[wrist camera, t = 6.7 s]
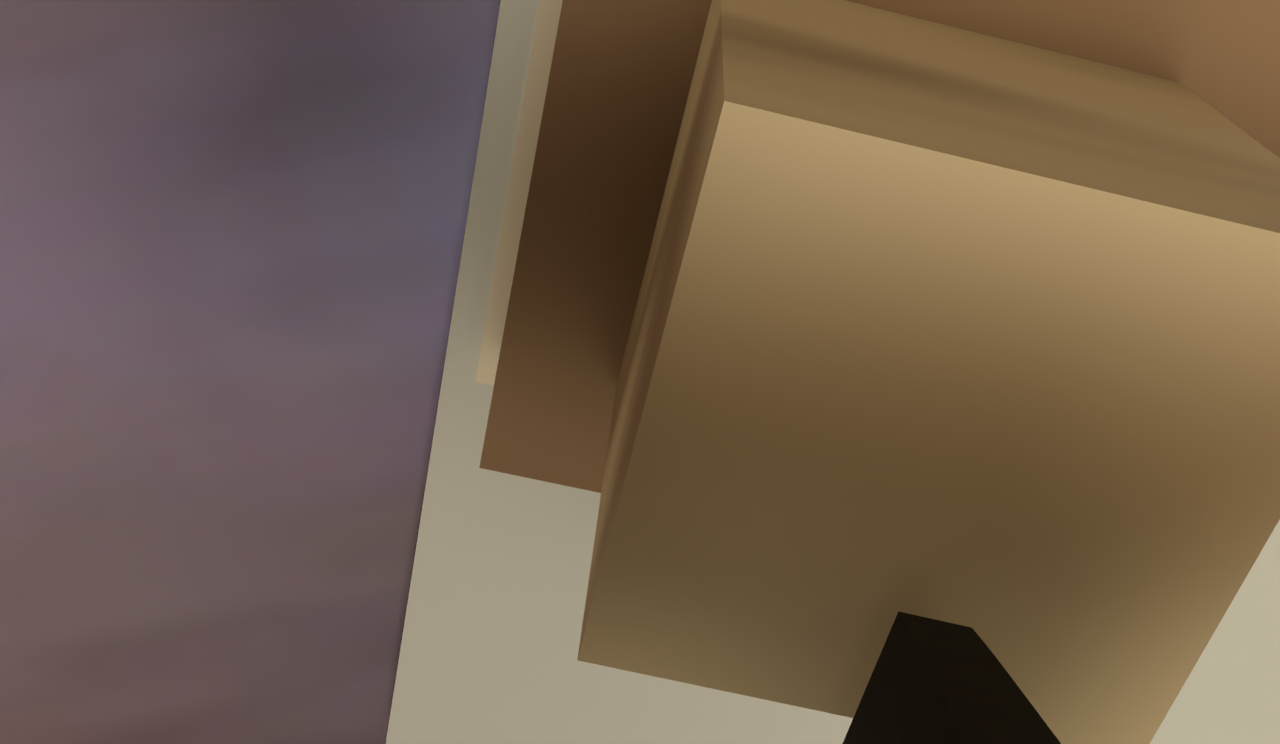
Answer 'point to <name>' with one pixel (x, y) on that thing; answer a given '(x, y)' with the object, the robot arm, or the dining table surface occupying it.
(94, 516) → the dining table surface
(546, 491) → the plain cream board
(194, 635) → the dining table surface
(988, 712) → the robot arm
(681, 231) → the light wooden cube
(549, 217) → the walnut slab
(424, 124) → the dining table surface
